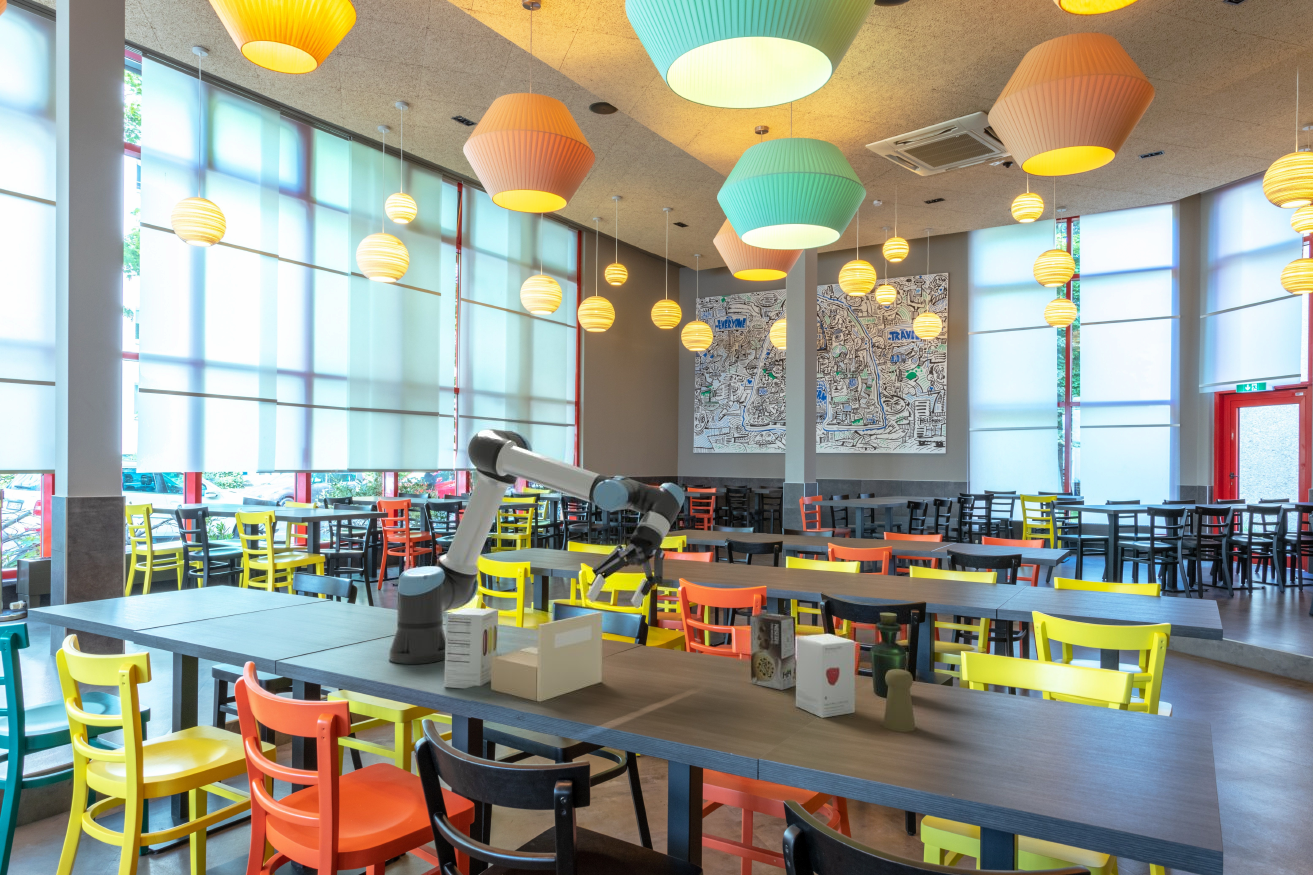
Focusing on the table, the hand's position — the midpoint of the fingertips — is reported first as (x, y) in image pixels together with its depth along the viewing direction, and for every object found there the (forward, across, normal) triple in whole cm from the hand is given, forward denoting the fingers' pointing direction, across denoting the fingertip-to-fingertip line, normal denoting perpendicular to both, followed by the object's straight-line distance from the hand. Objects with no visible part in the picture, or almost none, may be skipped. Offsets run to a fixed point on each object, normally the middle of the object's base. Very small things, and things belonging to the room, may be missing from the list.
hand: (611, 601), depth 180 cm
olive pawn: (+6, -64, -22) cm, 68 cm away
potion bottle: (-9, -55, -37) cm, 67 cm away
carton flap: (+22, +1, -4) cm, 22 cm away
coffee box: (-3, -30, -30) cm, 43 cm away
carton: (+22, +9, -4) cm, 25 cm away
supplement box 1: (+28, +26, +1) cm, 38 cm away
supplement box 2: (+5, -48, -23) cm, 54 cm away
